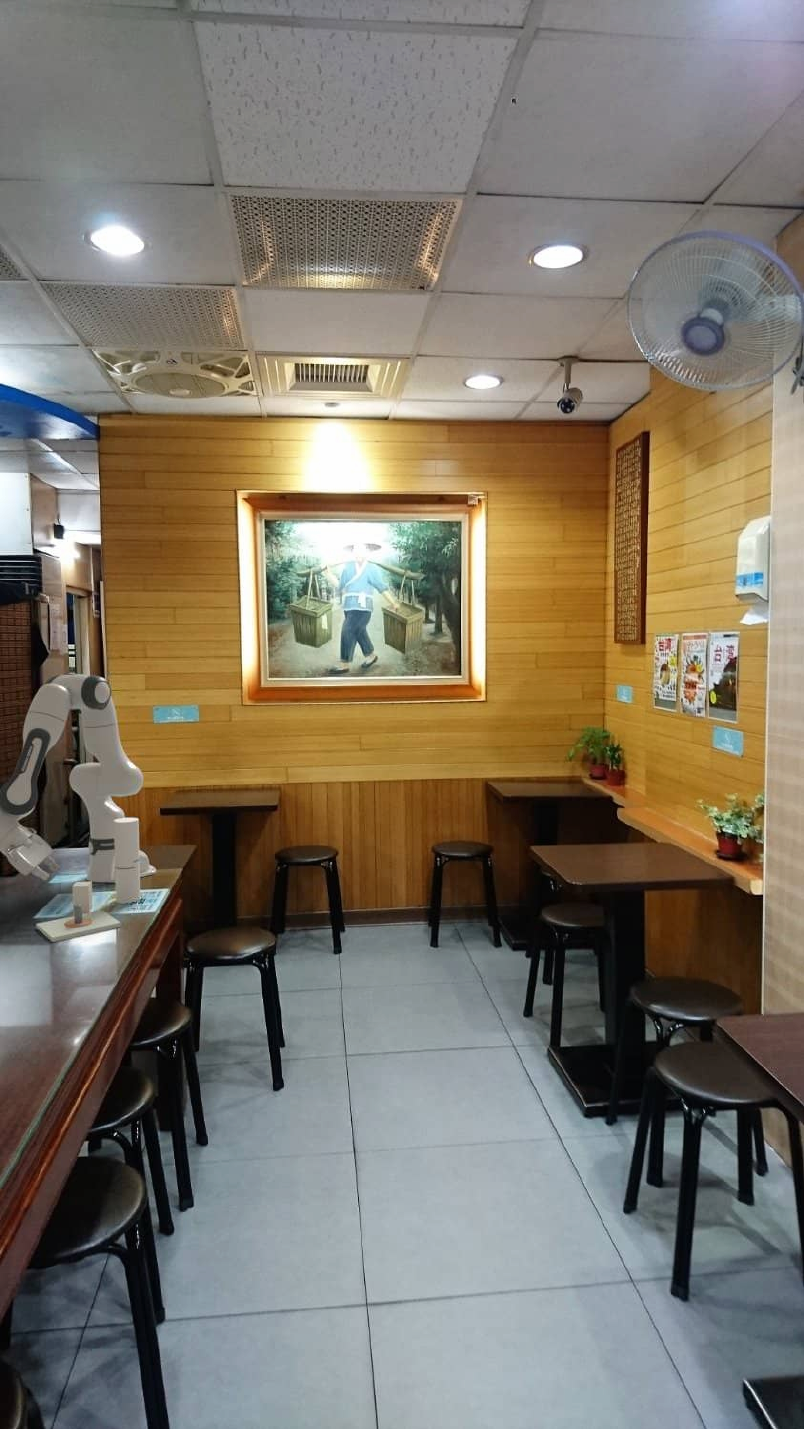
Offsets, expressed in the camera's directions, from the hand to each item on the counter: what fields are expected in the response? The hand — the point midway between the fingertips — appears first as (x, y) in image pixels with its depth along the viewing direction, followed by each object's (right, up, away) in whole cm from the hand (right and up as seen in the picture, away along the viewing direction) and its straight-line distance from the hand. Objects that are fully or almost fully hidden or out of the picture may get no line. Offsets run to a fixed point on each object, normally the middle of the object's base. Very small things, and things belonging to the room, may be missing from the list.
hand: (52, 873), depth 227 cm
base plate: (+13, -12, -12) cm, 22 cm away
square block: (+8, -11, +2) cm, 14 cm away
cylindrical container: (+18, -11, +12) cm, 24 cm away
